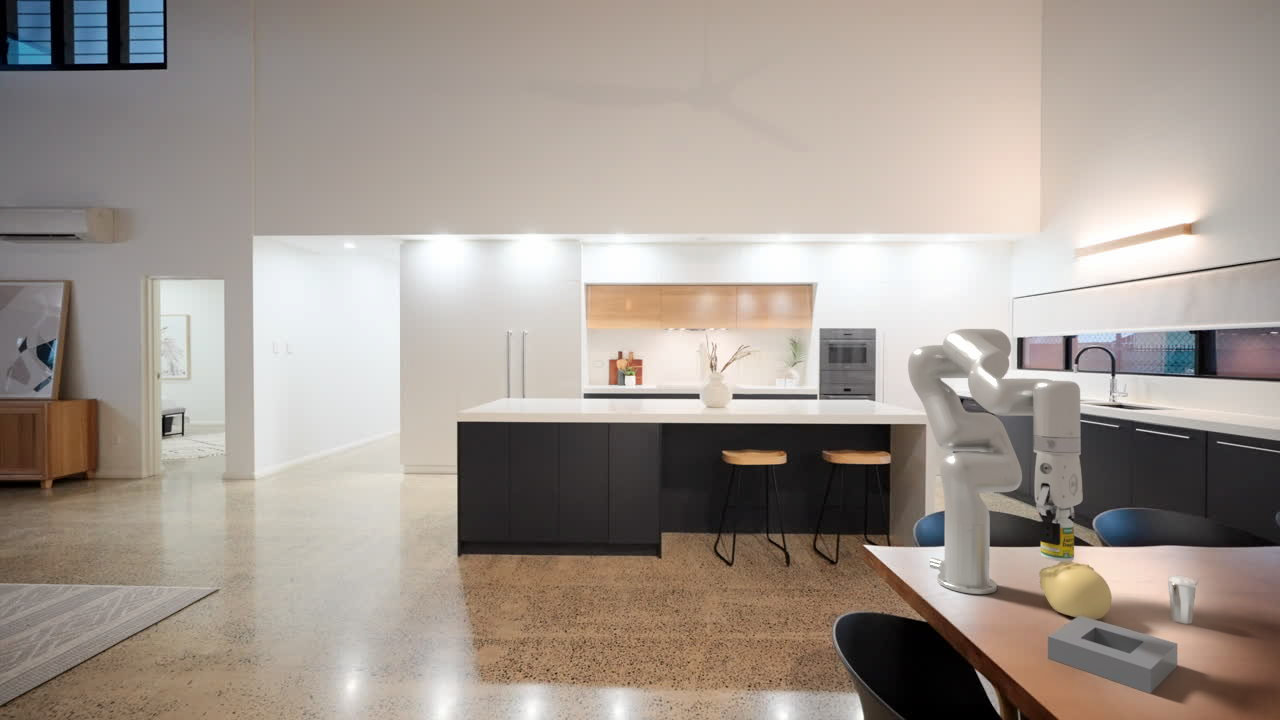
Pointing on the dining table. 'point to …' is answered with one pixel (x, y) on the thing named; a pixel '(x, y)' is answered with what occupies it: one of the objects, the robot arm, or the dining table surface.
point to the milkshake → (1182, 598)
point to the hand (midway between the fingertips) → (1057, 539)
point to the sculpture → (1076, 590)
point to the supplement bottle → (1061, 540)
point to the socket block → (1113, 653)
